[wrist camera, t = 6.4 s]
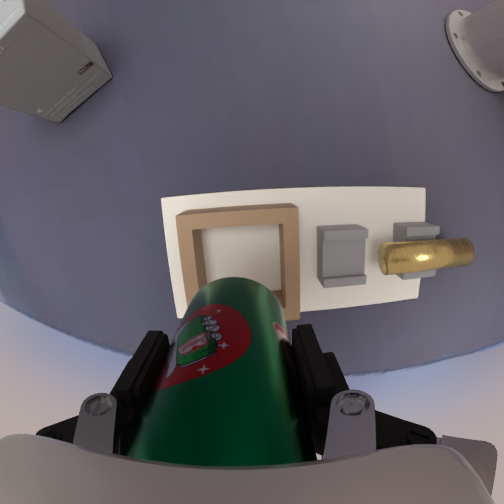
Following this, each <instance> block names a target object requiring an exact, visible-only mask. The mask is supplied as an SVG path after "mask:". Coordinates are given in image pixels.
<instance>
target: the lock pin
mask: <svg viewBox="0 0 504 504" xmlns="http://www.w3.org/2000/svg"><path fill="white" fill-rule="evenodd" d="M473 257H474V248H473V245H472V243H471V241H470V240H469V239H468V238H454V239H437V240H421V241H404V242H388V243H382V244H381V245H380V247H379V251H378V263H379V268H380V270H381V272H382V274H383V275H393V274H403V273H412V272H421V271H429V270H438V269H446V268H454V267H461V266H468V265H470V264H471V262H472V260H473Z"/></svg>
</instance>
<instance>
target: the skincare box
mask: <svg viewBox="0 0 504 504" xmlns="http://www.w3.org/2000/svg"><path fill="white" fill-rule="evenodd" d="M111 78H112V75H111V73H110V71H109V69H108V67H107V65H106V63H105V61H104V60H103V58H102V56H101V54H100V52H99V50H98V48H97V46H96V44H95V43H94V42H93V41H92V40H91V39H90V38H88V37H87V36H86V35H85V34H84V33H83V32H82V31H80V30H79V29H78V28H77V27H76V26H75V25H73V24H72V23H71V22H70V21H69V20H68V19H66V18H65V17H64V16H63V15H62V14H60V13H59V12H58V11H57V10H56V9H54V8H53V7H52V6H51V5H49V4H48V3H47V2H46V1H45V0H0V106H3V107H7V108H10V109H14V110H17V111H21V112H24V113H27V114H31V115H34V116H37V117H40V118H43V119H47V120H50V121H53V122H57V123H58V122H61V121H62V120H63V119H64V118H65V117H66V116H67V115H68V114H69V113H70V112H72V111H73V110H74V109H75V108H76V107H77V106H79V105H80V104H81V103H82V102H83V101H85V100H86V99H87V98H88V97H89V96H90V95H92V94H93V93H94V92H95V91H96V90H98V89H99V88H100V87H101V86H102V85H104V84H105V83H106V82H107V81H108V80H110V79H111Z"/></svg>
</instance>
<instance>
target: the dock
mask: <svg viewBox="0 0 504 504" xmlns="http://www.w3.org/2000/svg"><path fill="white" fill-rule="evenodd" d="M161 202H162V212H163V222H164V230H165V239H166V247H167V254H168V262H169V269H170V275H171V282H172V288H173V294H174V300H175V306H176V312H177V317H178V318H183V316H184V314H185V312H186V310H187V308H188V306H189V303H190V302H191V300H192V298H193V296H194V295H195V294H196V293H197V292H198V291H199V290H200V289H201V288H202V287H203V286H205V285H207V284H208V283H210V282H212V281H215V280H217V279H221V278H226V277H243V278H247V279H251V280H254V281H256V282H259V283H260V284H262V285H264V286H266V287H267V288H268V289H269V290H271V291H272V292H273V293H274V295H275V296H276V297H277V298H278V300H279V301H280V303H281V305H282V308H283V311H284V315H285V319H286V320H299V319H300V312H304V311H315V310H326V309H335V308H345V307H354V306H362V305H370V304H378V303H385V302H393V301H400V300H406V299H413V298H418V293H419V286H420V278H425V277H432V276H435V274H436V270H429V271H421V272H412V273H403V274H393V275H383V274H382V272H381V270H380V268H379V263H378V251H379V247H380V245H381V244H382V243H388V242H404V241H421V240H436V235H439V232H440V226H437V225H434V224H431V223H428V222H425V188H421V187H388V186H338V187H299V188H276V189H257V190H242V191H228V192H215V193H204V194H193V195H182V196H173V197H164V198H161Z"/></svg>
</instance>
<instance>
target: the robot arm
mask: <svg viewBox="0 0 504 504" xmlns="http://www.w3.org/2000/svg"><path fill="white" fill-rule="evenodd" d="M445 25H446V32H447V36H448V39H449V42H450V44H451V47H452V49H453V51H454V53H455V55H456V56H457V58H458V60H459V61H460V63H461V64H462V65H463V67H464V68H465V70H466V71H467V72H468V73H469V74H470V76H471V77H472V78H473V79H474V80H475V81H476V82H477V83H479V84H480V85H481V86H483V87H484V88H486V89H487V90H489V91H493V92H500V91H504V0H495V1H493V2H491V3H489V4H487V5H486V6H484V7H482V8H480V9H479V10H477V11H475V12H473V13H470V12H468V11H465V10H455V11H453V12H451V13H450V14H449V15H448V16H447V18H446V24H445ZM169 347H170V344H169V340H168V336H167V334H163V332H162V331H148V332H147V334H146V336H145V337H144V339H143V341H142V342H141V344H140V346H139V347H138V349H137V350H136V352H135V354H134V355H133V357H132V359H130V361H129V362H128V363H127V365H126V367H125V369H124V370H123V372H122V374H121V375H120V377H119V379H118V380H117V382H116V384H115V386H114V387H113V389H112V391H111V392H110V394H107V393H98V394H94V395H91V396H89V397H88V398H86V399H85V400H84V401H83V403H82V405H81V409H80V412H79V415H78V416H75V417H72V418H70V419H67V420H64V421H62V422H59V423H56V424H53V425H51V426H48V427H45V428H43V429H41V430H39V431H38V432H37V433H36V435H30V434H14V435H8V436H5V437H3V438H2V439H0V504H495V503H494V501H493V499H492V497H491V494H492V489H493V483H494V477H495V471H496V463H497V450H496V448H495V446H494V445H492V444H491V443H488V442H486V441H478V440H470V439H464V438H457V437H451V436H445V435H443V436H442V438H438V437H436V435H435V434H434V432H433V431H431V430H430V429H429V428H427V427H424V426H421V425H418V424H415V423H412V422H409V421H405V420H402V419H399V418H396V417H393V416H390V415H388V414H385V413H382V412H379V411H376V410H375V406H374V401H373V399H372V397H371V396H370V395H368V394H367V393H365V392H363V391H360V390H349V388H348V385H347V383H346V380H345V378H344V376H343V373H342V371H341V369H340V366H339V364H338V362H337V360H336V357H335V355H334V353H333V352H328V353H322V351H321V348H320V346H319V343H318V341H317V338H316V336H315V333H314V330H313V328H312V325H311V324H304V325H297V329H292V349H293V353H294V357H295V362H296V366H297V370H298V375H299V379H300V384H301V388H302V392H303V397H304V401H305V406H306V410H307V415H308V419H309V424H310V429H311V433H312V438H313V443H314V447H315V452H316V453H318V454H320V455H322V459H321V460H315V461H308V462H299V463H289V464H277V465H260V466H197V465H184V464H176V463H168V462H160V461H153V460H146V459H139V458H133V457H128V456H124V455H125V452H126V450H127V447H128V445H129V442H130V440H131V437H132V435H133V432H134V430H135V427H136V425H137V422H138V420H139V417H140V415H141V413H142V410H143V408H144V405H145V403H146V401H147V398H148V396H149V394H150V391H151V389H152V386H153V384H154V382H155V379H156V377H157V375H158V373H159V370H160V368H161V366H162V363H163V361H164V359H165V356H166V354H167V352H168V350H169Z"/></svg>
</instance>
